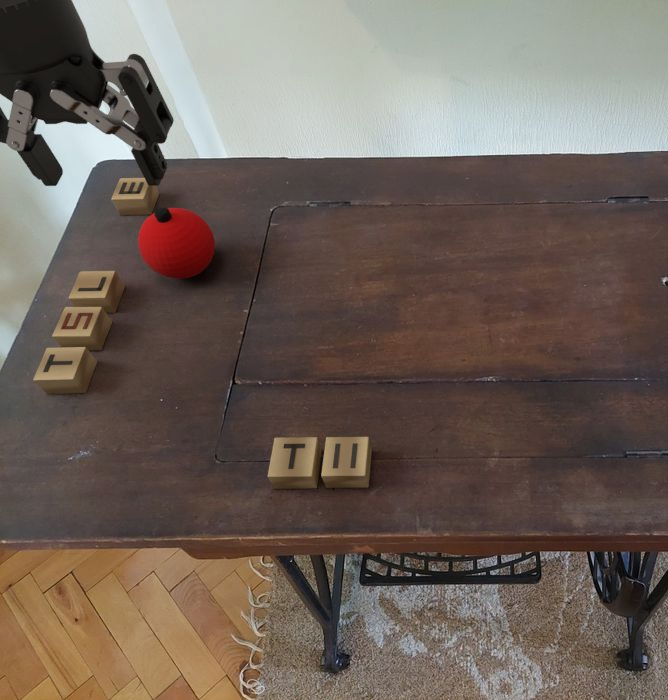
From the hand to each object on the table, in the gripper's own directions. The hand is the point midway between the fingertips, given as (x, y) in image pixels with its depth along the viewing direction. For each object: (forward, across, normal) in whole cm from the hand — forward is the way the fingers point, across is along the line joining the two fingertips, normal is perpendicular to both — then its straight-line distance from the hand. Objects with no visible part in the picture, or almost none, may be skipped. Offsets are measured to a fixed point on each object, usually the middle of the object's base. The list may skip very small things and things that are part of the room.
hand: (106, 179), depth 55 cm
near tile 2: (+28, +12, -13) cm, 33 cm away
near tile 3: (+28, +18, -13) cm, 36 cm away
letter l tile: (+28, -16, +11) cm, 34 cm away
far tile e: (+28, -17, +29) cm, 43 cm away
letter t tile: (+28, -16, -1) cm, 32 cm away
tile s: (+28, -16, +5) cm, 33 cm away
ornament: (+28, -7, +16) cm, 33 cm away
